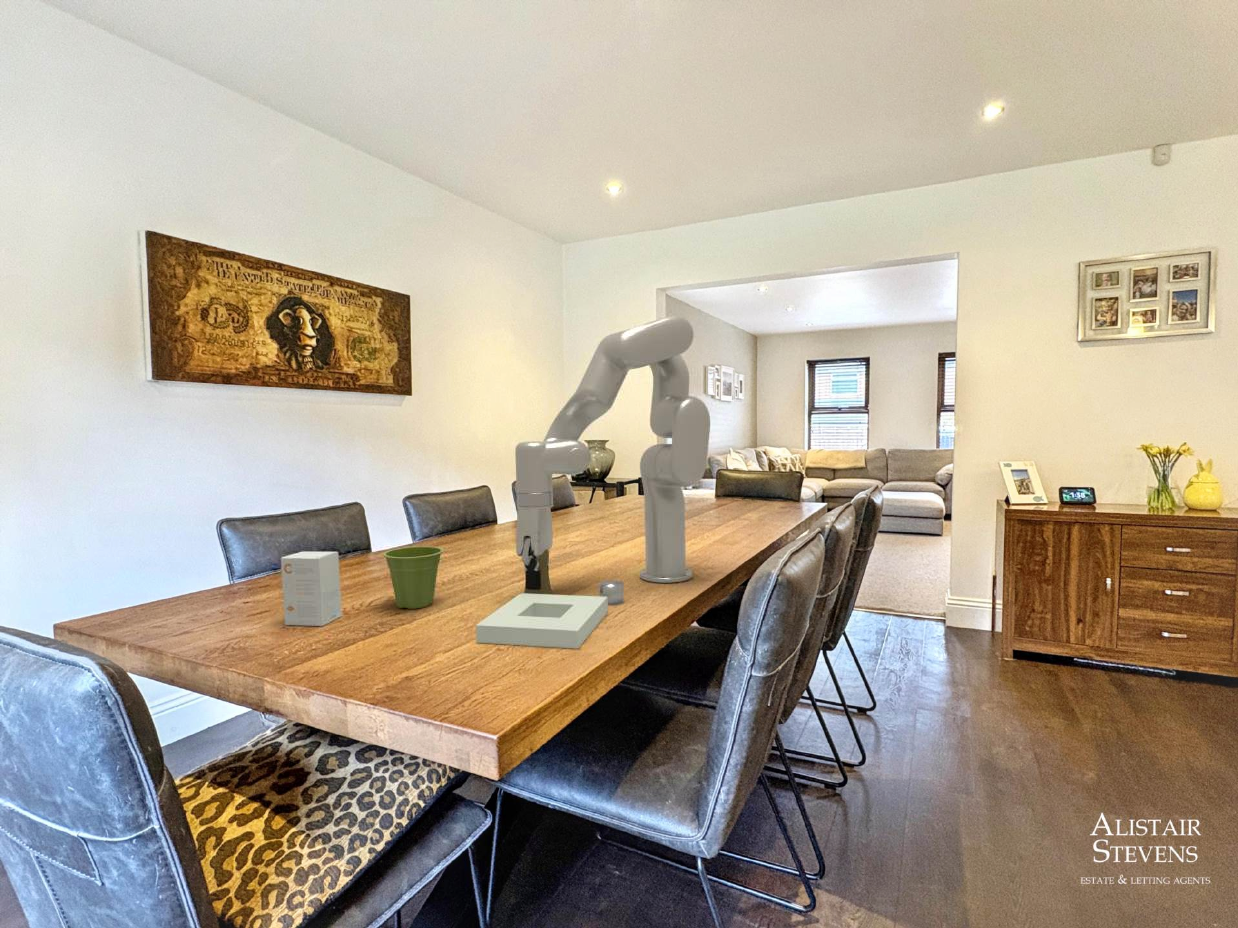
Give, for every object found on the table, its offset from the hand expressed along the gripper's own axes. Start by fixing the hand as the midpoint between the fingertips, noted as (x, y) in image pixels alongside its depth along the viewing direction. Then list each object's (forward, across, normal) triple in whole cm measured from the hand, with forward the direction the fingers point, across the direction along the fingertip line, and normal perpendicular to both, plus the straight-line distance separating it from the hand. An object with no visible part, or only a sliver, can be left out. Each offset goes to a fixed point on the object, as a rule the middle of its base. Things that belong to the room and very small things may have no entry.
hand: (537, 585), depth 130 cm
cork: (+3, 0, 0) cm, 3 cm away
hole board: (+3, +17, +8) cm, 19 cm away
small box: (+3, +21, -38) cm, 43 cm away
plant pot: (+3, +8, -24) cm, 25 cm away
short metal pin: (+3, 0, +16) cm, 16 cm away
